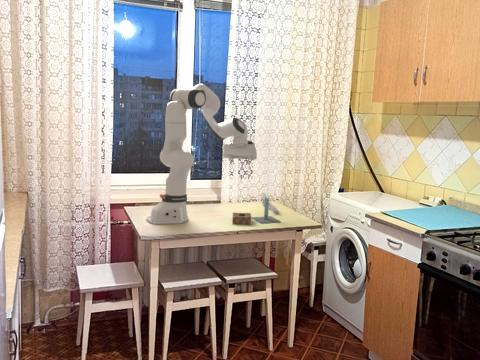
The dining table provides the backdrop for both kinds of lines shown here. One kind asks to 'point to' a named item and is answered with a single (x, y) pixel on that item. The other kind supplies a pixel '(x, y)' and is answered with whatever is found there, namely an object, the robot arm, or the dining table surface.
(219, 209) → the dining table surface
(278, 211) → the wrench
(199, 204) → the dining table surface
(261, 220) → the rubber mat
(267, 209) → the scraper tool
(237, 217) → the slot holder
